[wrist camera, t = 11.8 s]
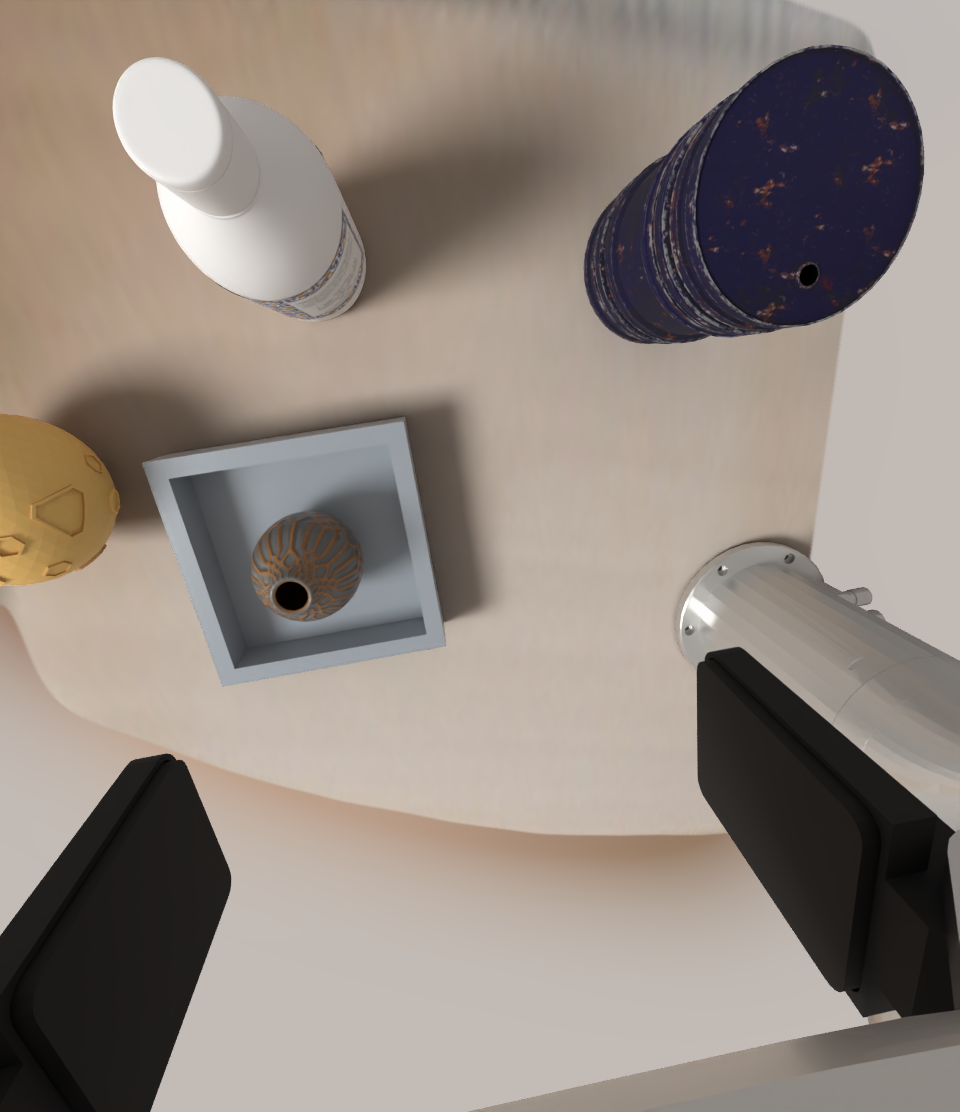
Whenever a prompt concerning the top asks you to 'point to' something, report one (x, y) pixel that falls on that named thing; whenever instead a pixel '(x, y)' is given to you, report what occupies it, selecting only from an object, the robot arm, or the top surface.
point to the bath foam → (242, 191)
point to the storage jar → (764, 206)
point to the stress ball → (50, 502)
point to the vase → (307, 566)
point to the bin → (290, 487)
